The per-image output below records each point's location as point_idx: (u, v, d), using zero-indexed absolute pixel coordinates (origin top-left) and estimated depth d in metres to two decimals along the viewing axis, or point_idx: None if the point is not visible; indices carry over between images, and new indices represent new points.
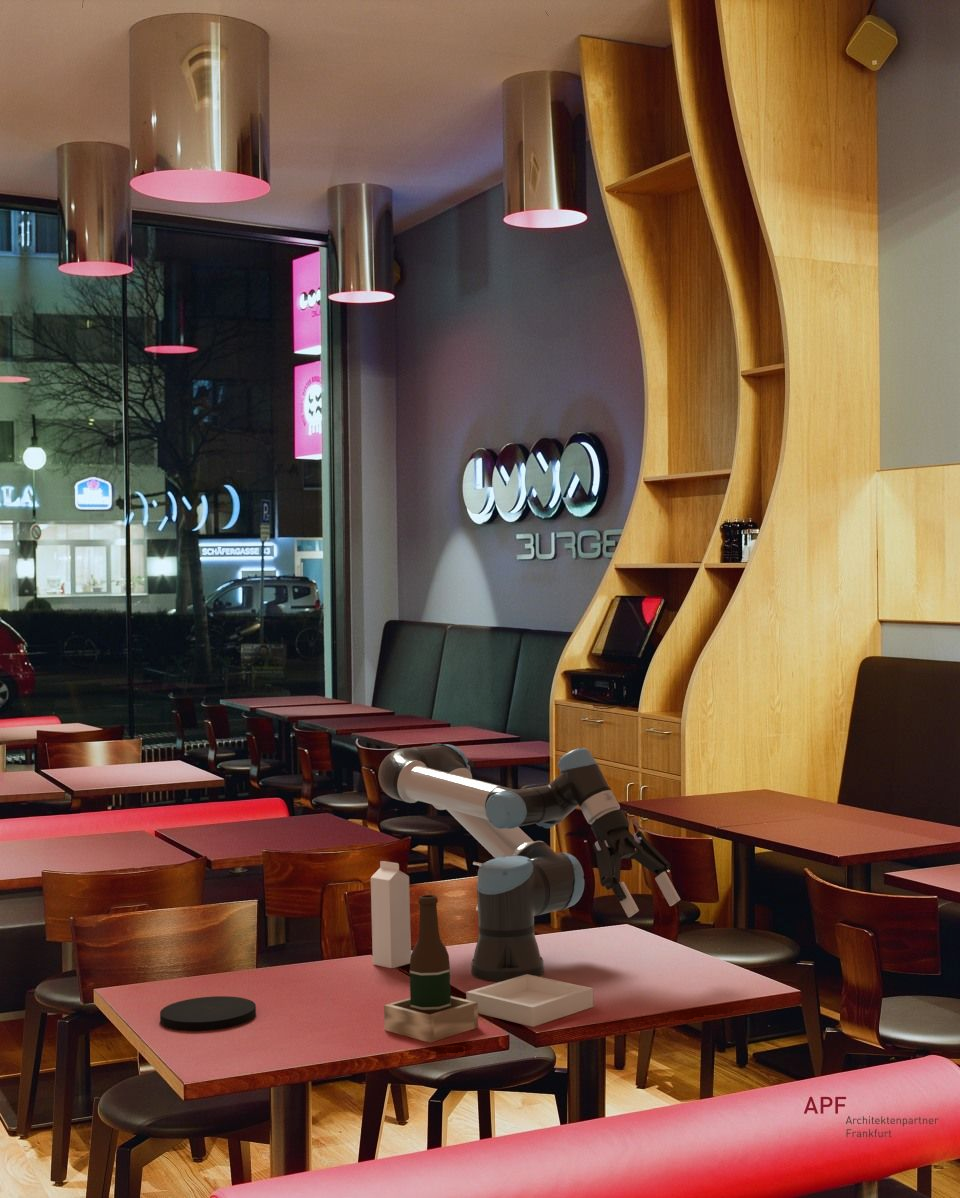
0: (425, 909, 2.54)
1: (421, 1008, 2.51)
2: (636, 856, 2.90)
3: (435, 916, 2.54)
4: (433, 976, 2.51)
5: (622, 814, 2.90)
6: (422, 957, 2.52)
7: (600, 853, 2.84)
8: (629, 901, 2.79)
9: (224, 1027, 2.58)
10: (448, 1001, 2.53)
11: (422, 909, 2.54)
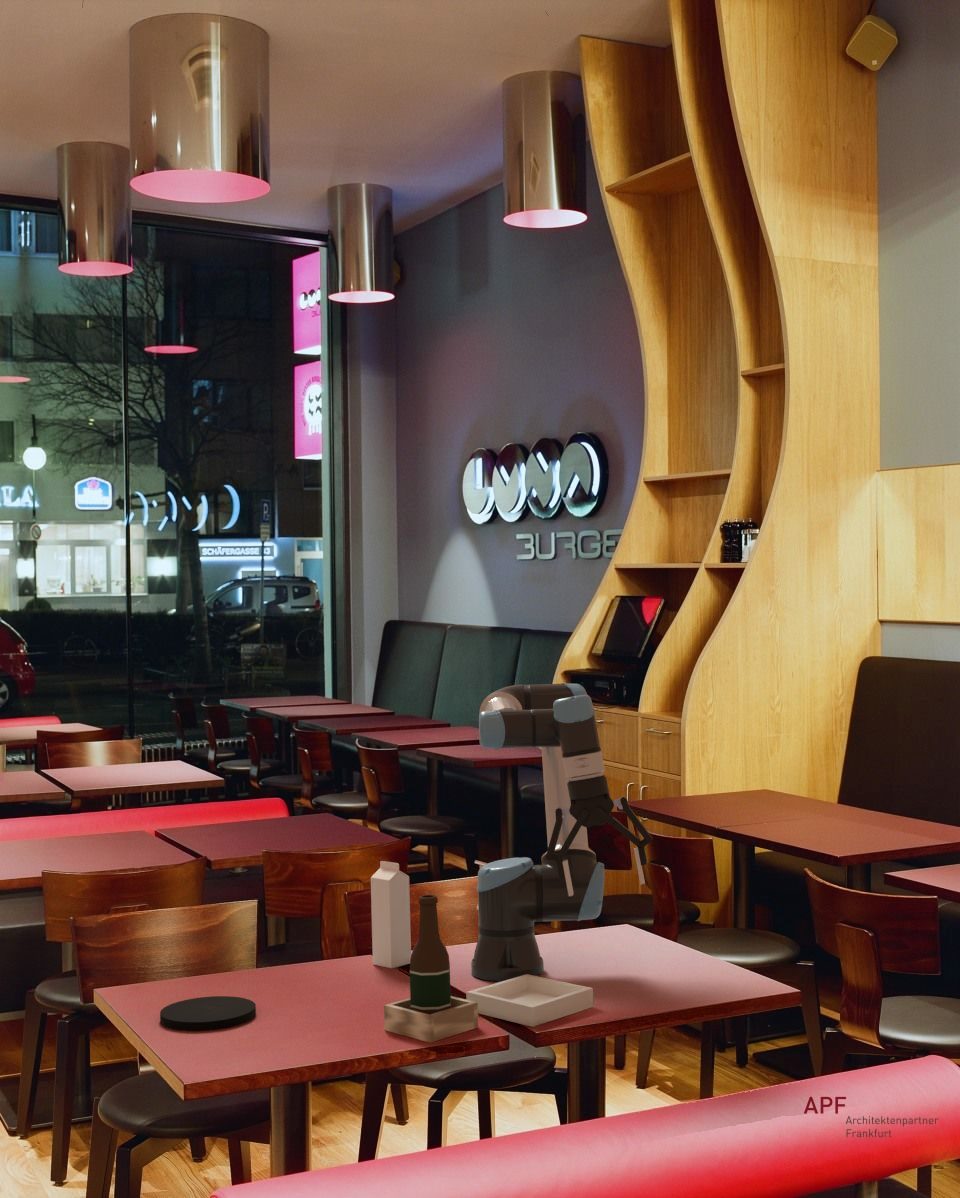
0: (425, 909, 2.54)
1: (421, 1008, 2.51)
2: None
3: (435, 916, 2.54)
4: (433, 976, 2.51)
5: (590, 786, 2.62)
6: (422, 957, 2.52)
7: None
8: None
9: (224, 1027, 2.58)
10: (448, 1001, 2.53)
11: (422, 909, 2.54)
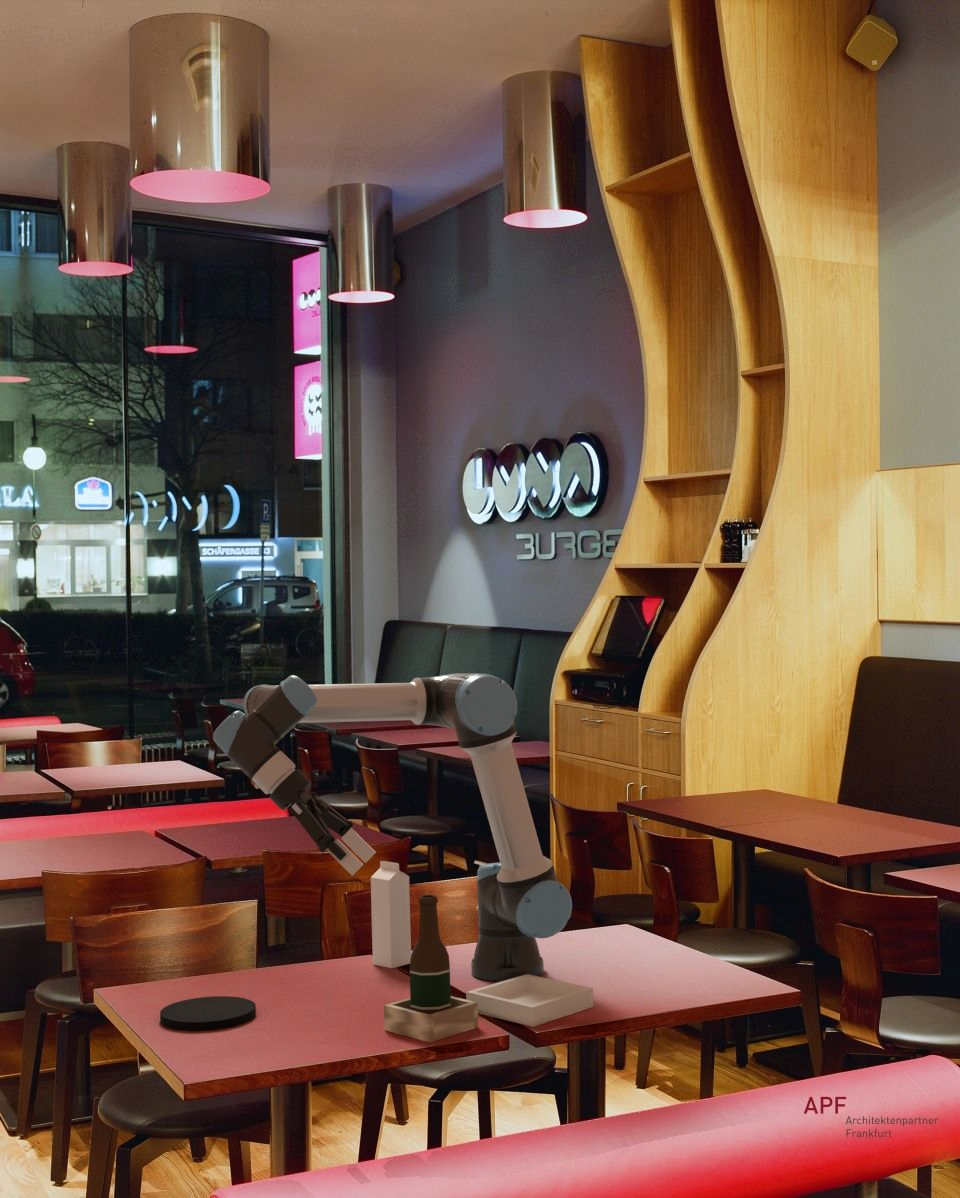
0: (425, 909, 2.54)
1: (421, 1008, 2.51)
2: None
3: (435, 916, 2.54)
4: (433, 976, 2.51)
5: None
6: (422, 957, 2.52)
7: None
8: None
9: (224, 1027, 2.58)
10: (448, 1001, 2.53)
11: (422, 909, 2.54)
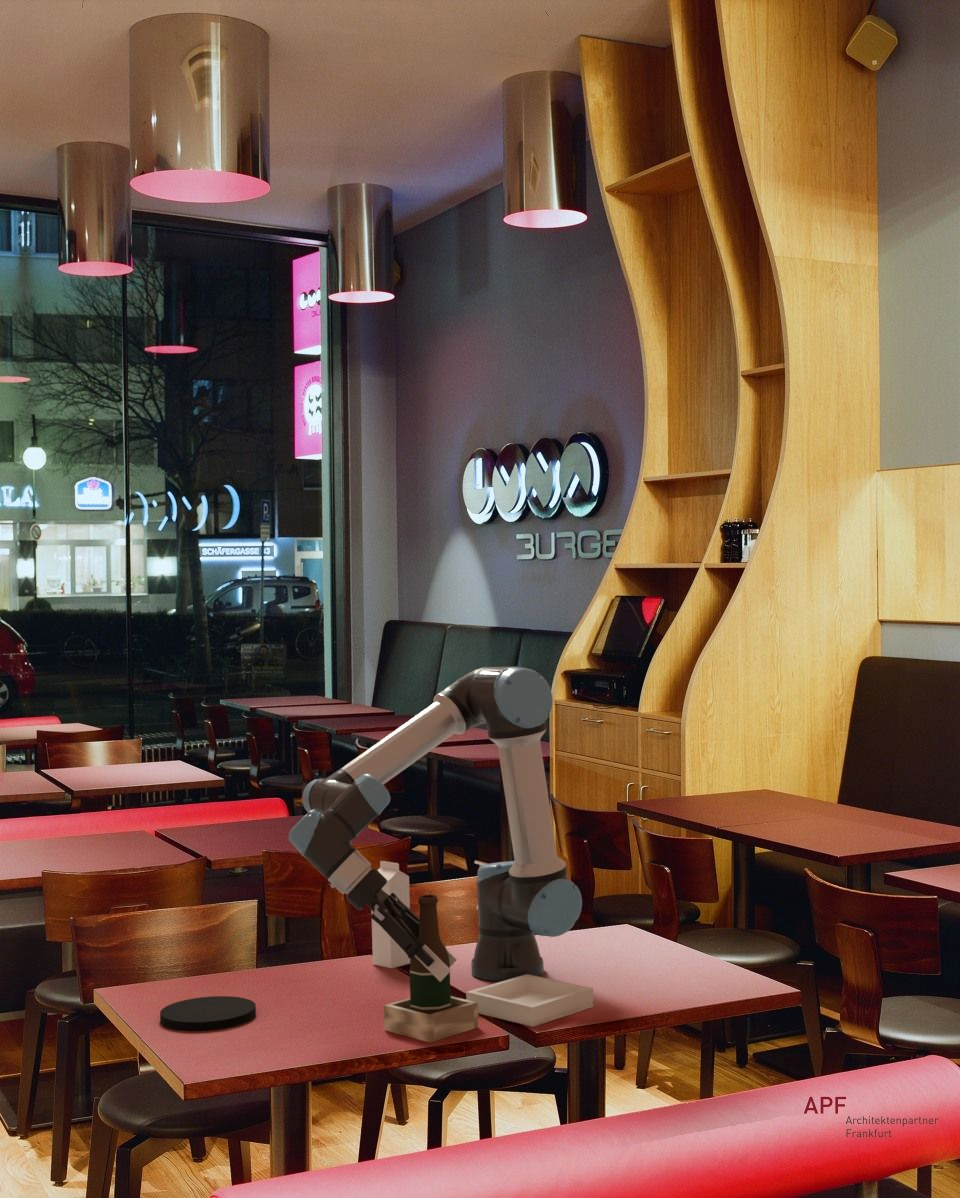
0: (425, 909, 2.54)
1: (421, 1008, 2.51)
2: None
3: (435, 916, 2.54)
4: (433, 976, 2.51)
5: (350, 902, 2.56)
6: None
7: None
8: None
9: (224, 1027, 2.59)
10: (448, 1001, 2.53)
11: (422, 909, 2.54)
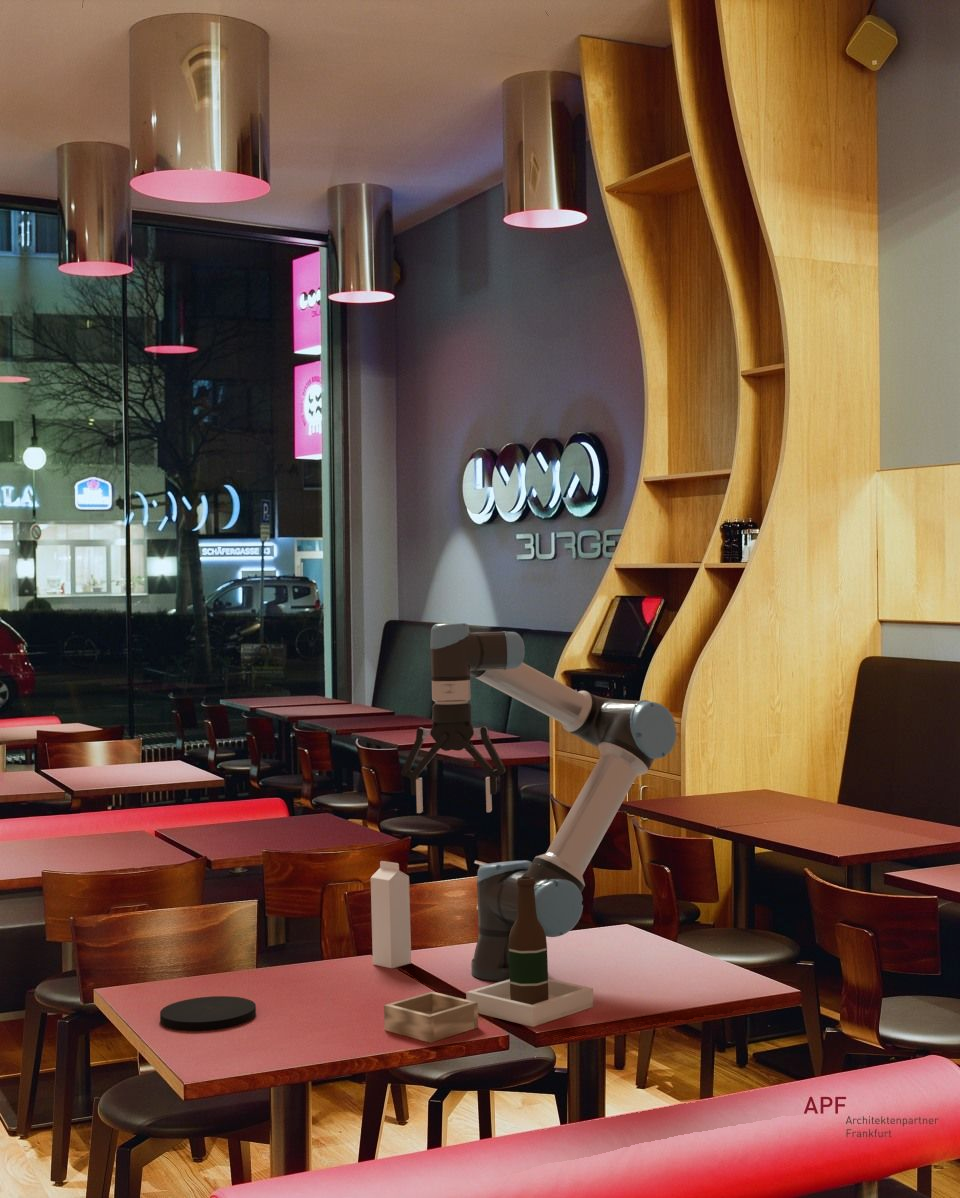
0: (524, 890, 2.65)
1: (520, 984, 2.62)
2: None
3: (533, 897, 2.65)
4: (532, 954, 2.62)
5: (452, 711, 2.70)
6: (521, 935, 2.63)
7: None
8: None
9: (224, 1027, 2.59)
10: (546, 978, 2.64)
11: (520, 890, 2.65)
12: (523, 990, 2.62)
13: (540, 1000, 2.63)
